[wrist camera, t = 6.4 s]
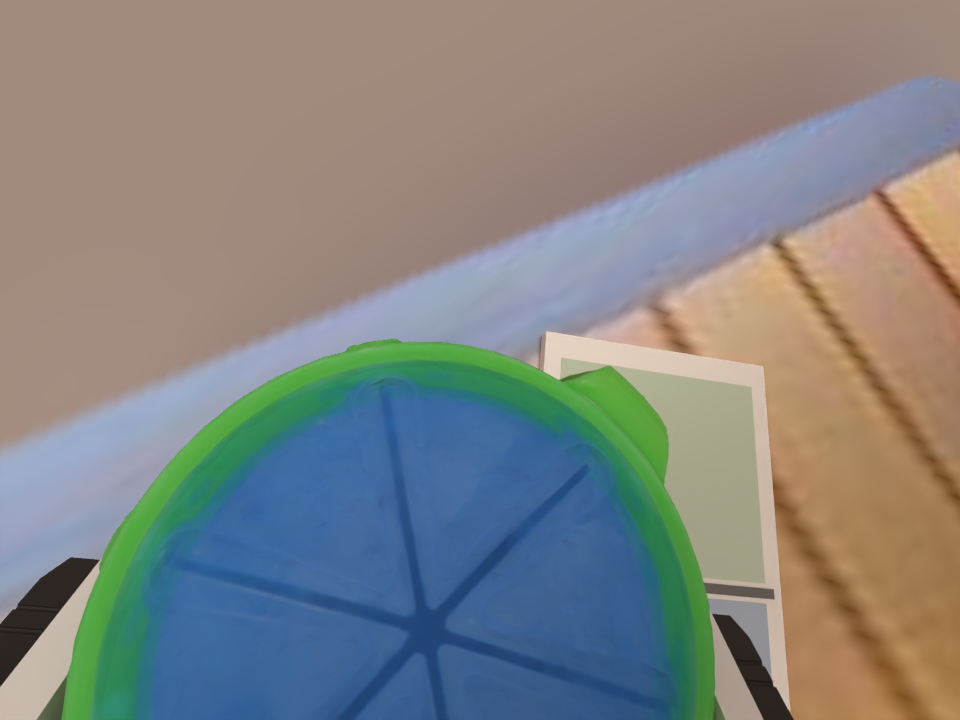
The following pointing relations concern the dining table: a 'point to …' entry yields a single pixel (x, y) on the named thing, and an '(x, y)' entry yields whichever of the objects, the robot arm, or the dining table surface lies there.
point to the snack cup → (405, 555)
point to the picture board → (708, 473)
